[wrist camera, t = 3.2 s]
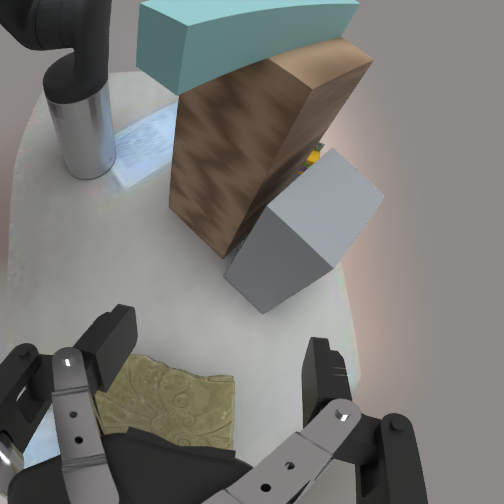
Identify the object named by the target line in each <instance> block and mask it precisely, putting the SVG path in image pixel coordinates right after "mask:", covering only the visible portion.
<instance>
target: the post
mask: <svg viewBox="0 0 504 504" xmlns="http://www.w3.org/2000/svg"><path fill="white" fill-rule="evenodd" d="M372 62H373V59H372V58H370V57H369V56H367V55H366V54H365V53H364V52H362V51H361V50H359V49H358V48H356V47H355V46H354V45H352V44H351V43H349V42H348V41H346V40H345V39H343V38H342V37H339V38H334V39H330V40H326V41H322V42H319V43H315V44H311V45H308V46H304V47H301V48H297V49H294V50H291V51H287V52H284V53H281V54H278V55H275V56H272V57H269V58H266V59H263V60H261V61H258V62H255V63H252V64H250V65H247V66H244V67H242V68H239V69H237V70H234V71H232V72H229V73H227V74H224V75H222V76H219V77H217V78H215V79H212V80H210V81H208V82H206V83H203V84H201V85H199V86H197V87H195V88H192V89H190V90H188V91H186V92H184V93H182V94H180V95H179V102H178V110H177V118H176V127H175V136H174V146H173V157H172V168H171V181H170V196H169V207H170V208H171V209H172V210H173V211H174V212H175V213H176V214H177V215H178V216H179V217H180V218H181V219H182V220H183V221H184V222H185V223H186V224H187V225H188V226H189V227H190V228H191V229H192V230H193V231H194V232H195V233H196V234H197V235H198V236H199V237H200V238H201V239H203V240H204V241H205V242H206V243H207V244H208V245H209V246H210V247H211V248H212V249H213V250H214V251H215V252H216V253H217V254H218V255H219V256H220V257H221V258H222V259H223V258H224V257H225V256H226V255H227V254H228V253H229V252H230V251H232V250H233V249H234V248H235V247H236V246H237V245H238V244H239V243H240V242H241V241H242V240H243V239H244V238H245V237H246V236H247V235H248V234H249V233H250V232H251V231H252V229H253V227H254V226H255V224H256V222H257V221H258V219H259V217H260V216H261V214H262V213H263V211H264V209H265V208H266V206H267V205H268V204H269V203H270V202H271V201H272V200H274V199H275V198H276V197H277V196H278V195H279V194H280V193H281V192H282V191H284V190H285V189H286V188H287V187H288V186H289V185H290V184H291V183H292V181H293V180H294V178H295V177H296V175H297V174H298V172H299V171H300V169H301V168H302V166H303V165H304V163H305V162H306V160H307V159H308V157H309V156H310V154H311V153H312V151H313V150H314V148H315V147H316V145H317V144H318V142H319V141H320V139H321V138H322V136H323V135H324V133H325V132H326V130H327V129H328V127H329V126H330V124H331V123H332V121H333V120H334V118H335V117H336V115H337V114H338V112H339V111H340V109H341V108H342V106H343V105H344V104H345V102H346V100H347V99H348V98H349V96H350V94H351V93H352V92H353V90H354V89H355V87H356V86H357V84H358V83H359V81H360V80H361V78H362V77H363V75H364V74H365V72H366V71H367V69H368V68H369V67H370V65H371V64H372Z"/></svg>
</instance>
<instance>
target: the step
mask: <svg viewBox="0 0 504 504" xmlns="http://www.w3.org/2000/svg"><path fill="white" fill-rule="evenodd" d="M384 197H385V196H384V195H383V194H382V193H381V192H380V191H379V190H378V189H377V188H376V187H375V186H374V185H373V184H372V183H371V182H370V181H368V179H367V178H365V177H364V176H363V175H362V174H361V173H360V172H359V171H358V170H357V169H356V168H355V167H354V166H352V164H350V163H349V162H348V161H347V160H346V159H345V158H344V157H343V156H341V155H340V154H339V153H338V152H337V151H336V150H335V149H334V148H331V149H330V150H329V151H328V152H326V153H325V154H324V155H323V156H322V157H321V158H320V159H318V160H317V161H316V162H315V163H314V164H313V165H312V166H311V167H309V168H308V169H307V170H306V171H305V172H304V173H303V174H301V175H300V176H299V177H298V178H297V179H296V180H295V181H294V182H293V183H291V184H290V185H289V186H288V187H287V188H286V189H285V190H284V191H282V192H281V193H280V194H279V195H278V196H277V197H276V198H275V199H274V200H272V201H271V202H270V203H269V204H268V205H267V206H266V208H265V209H264V211H263V213H262V214H261V216H260V217H259V219H258V221H257V222H256V224H255V226H254V227H253V229H252V231H251V232H250V234H249V235H248V237H247V239H246V240H245V242H244V244H243V245H242V247H241V249H240V250H239V252H238V254H237V255H236V257H235V259H234V260H233V262H232V263H231V265H230V267H229V268H228V270H227V272H226V273H225V275H224V278H225V279H226V280H227V281H228V282H229V283H230V284H231V285H232V286H233V287H234V288H236V289H237V290H238V291H239V292H240V293H241V294H242V295H243V296H244V297H245V298H246V299H247V300H248V301H249V302H250V303H251V304H252V305H254V306H255V307H256V308H257V309H258V310H259V311H260V312H261V313H262V314H264V313H266V312H267V311H269V310H270V309H272V308H274V307H275V306H277V305H279V304H280V303H282V302H283V301H285V300H286V299H288V298H290V297H291V296H293V295H294V294H296V293H297V292H299V291H301V290H302V289H304V288H305V287H307V286H308V285H310V284H311V283H313V282H314V281H316V280H318V279H319V278H321V277H322V276H324V275H325V274H327V273H328V272H330V271H331V270H333V269H334V268H335V267H336V265H337V264H338V262H339V261H340V260H341V258H342V257H343V256H344V254H345V253H346V252H347V250H348V249H349V248H350V246H351V245H352V243H353V242H354V240H355V239H356V238H357V236H358V235H359V234H360V232H361V231H362V229H363V228H364V226H365V225H366V224H367V222H368V221H369V219H370V218H371V216H372V215H373V213H374V212H375V211H376V209H377V208H378V206H379V205H380V203H381V202H382V200H383V199H384Z"/></svg>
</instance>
